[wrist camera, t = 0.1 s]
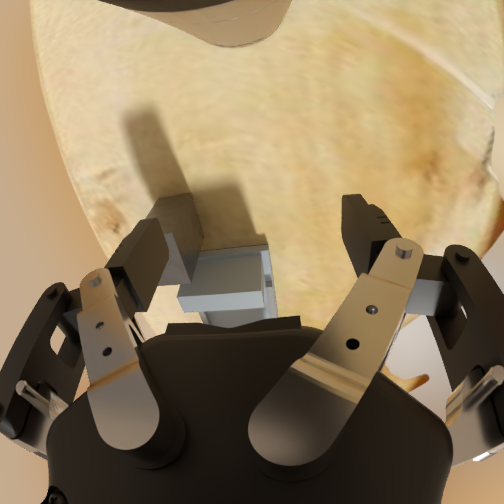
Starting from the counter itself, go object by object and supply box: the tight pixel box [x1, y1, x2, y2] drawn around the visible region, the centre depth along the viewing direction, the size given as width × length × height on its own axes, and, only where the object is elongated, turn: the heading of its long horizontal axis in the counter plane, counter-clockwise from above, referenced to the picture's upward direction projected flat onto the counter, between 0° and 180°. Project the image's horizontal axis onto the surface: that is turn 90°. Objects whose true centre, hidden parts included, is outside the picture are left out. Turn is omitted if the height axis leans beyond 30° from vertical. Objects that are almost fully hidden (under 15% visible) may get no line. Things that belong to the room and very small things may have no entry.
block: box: [146, 193, 204, 286], centre depth 28 cm, size 4×6×8 cm, turn 8°
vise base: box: [177, 244, 278, 328], centre depth 37 cm, size 20×11×7 cm, turn 9°
